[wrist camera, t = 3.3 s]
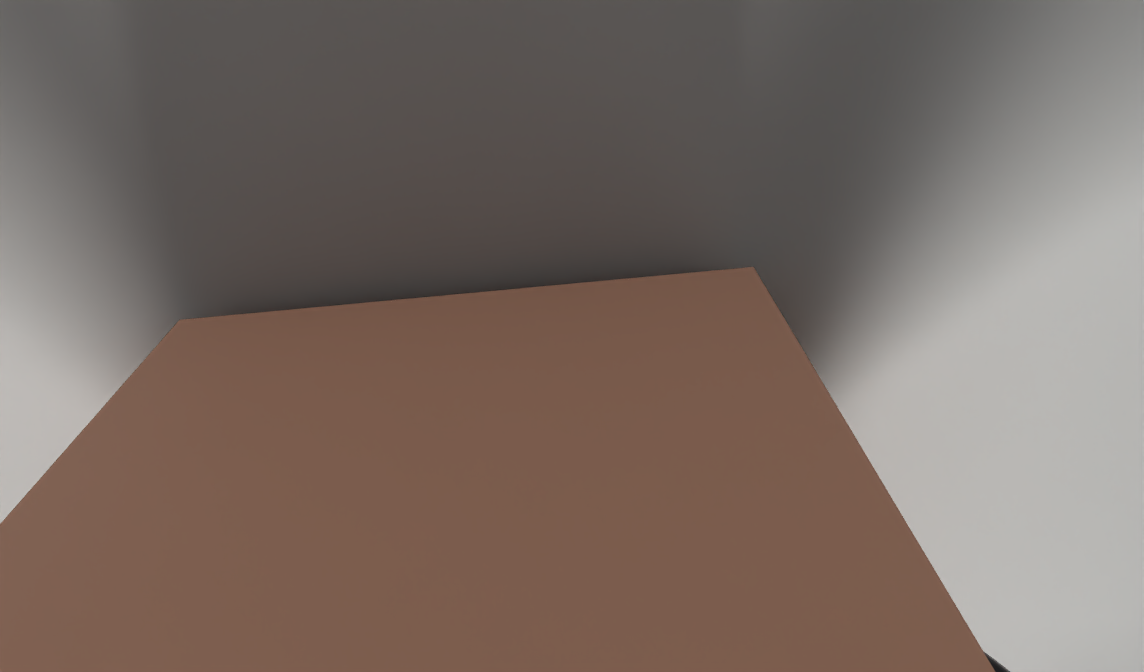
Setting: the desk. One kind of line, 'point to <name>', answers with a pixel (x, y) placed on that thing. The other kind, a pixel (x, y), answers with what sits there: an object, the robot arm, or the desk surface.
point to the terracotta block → (476, 499)
